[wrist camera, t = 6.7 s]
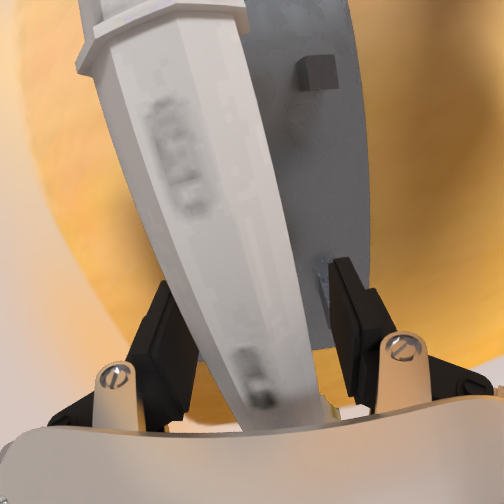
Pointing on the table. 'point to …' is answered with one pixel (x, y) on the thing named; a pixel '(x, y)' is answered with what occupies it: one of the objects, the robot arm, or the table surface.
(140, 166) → the white handheld device
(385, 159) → the table surface
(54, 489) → the robot arm
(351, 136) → the peg stand
